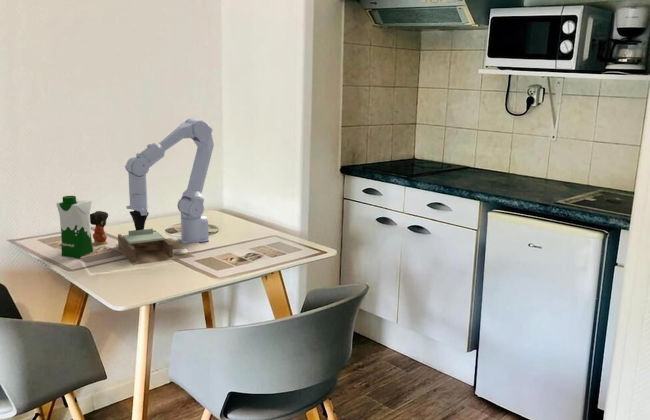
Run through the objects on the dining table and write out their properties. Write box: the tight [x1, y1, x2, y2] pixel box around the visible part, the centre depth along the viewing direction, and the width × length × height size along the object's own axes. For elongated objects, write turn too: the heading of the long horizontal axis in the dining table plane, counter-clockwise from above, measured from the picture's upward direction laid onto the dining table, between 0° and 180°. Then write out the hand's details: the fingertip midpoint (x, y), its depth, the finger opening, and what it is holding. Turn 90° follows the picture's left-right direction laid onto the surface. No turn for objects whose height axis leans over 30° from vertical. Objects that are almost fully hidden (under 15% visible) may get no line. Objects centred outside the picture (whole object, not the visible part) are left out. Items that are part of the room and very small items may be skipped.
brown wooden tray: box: [115, 229, 195, 266], centre depth 202 cm, size 20×25×5 cm
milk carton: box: [55, 195, 94, 259], centre depth 195 cm, size 9×9×20 cm
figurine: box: [90, 210, 109, 246], centre depth 208 cm, size 6×6×12 cm
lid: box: [122, 228, 166, 244], centre depth 200 cm, size 12×9×2 cm
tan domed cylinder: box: [134, 242, 148, 248], centre depth 205 cm, size 5×5×4 cm
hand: (139, 231), depth 204 cm, fingers closed
